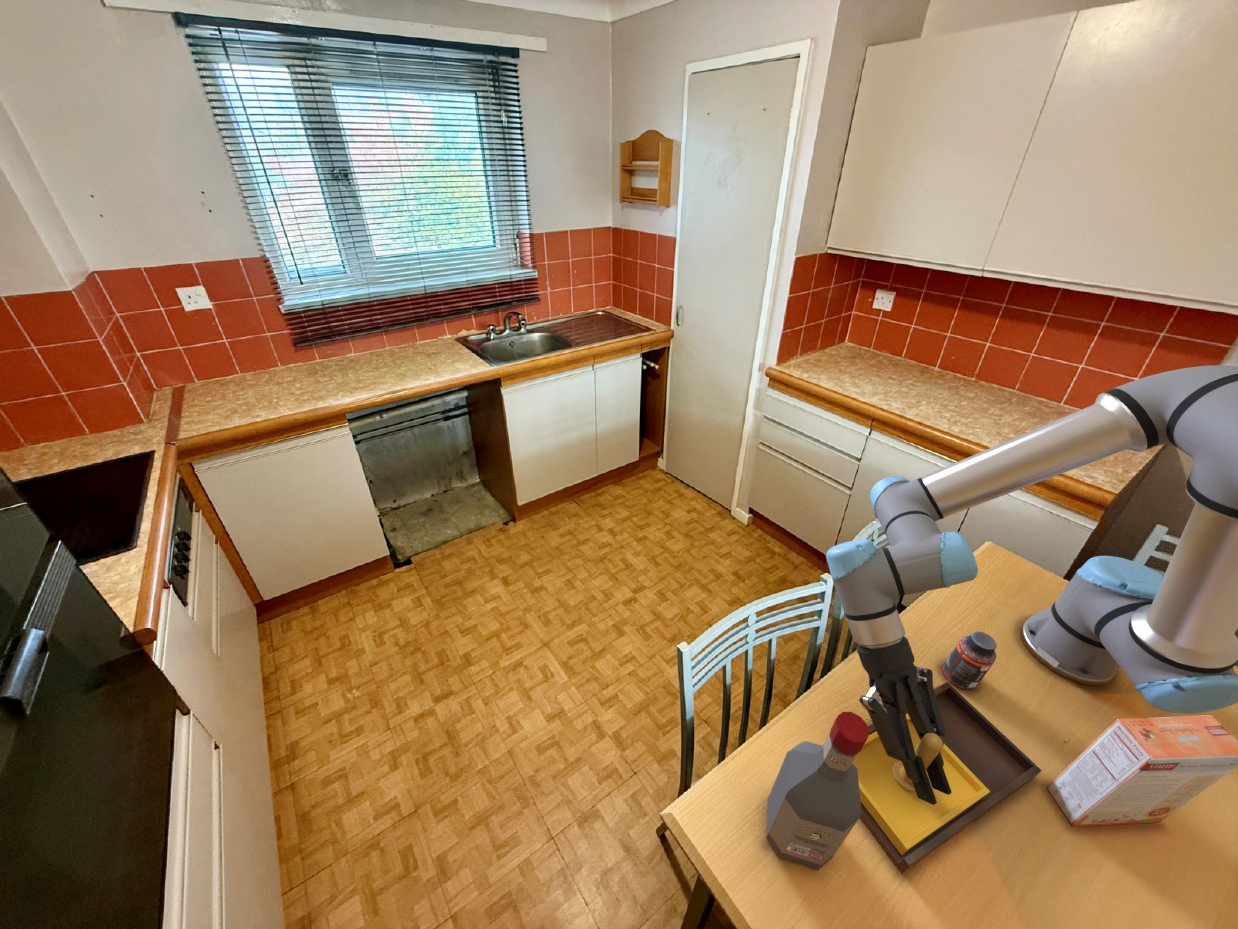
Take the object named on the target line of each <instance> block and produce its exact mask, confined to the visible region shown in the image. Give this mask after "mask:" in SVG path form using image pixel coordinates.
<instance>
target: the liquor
mask: <svg viewBox="0 0 1238 929" xmlns="http://www.w3.org/2000/svg"><path fill="white" fill-rule="evenodd" d="M868 726H869V725H868V724H867V722H866V721H865V719H863V718H862V717H861V716H860V715H859V714H857V713H854V712H853V711H842V712H841V713H839V714H837V716H836V718H835V720H834V721H833V724H832V726H831V728H830V731H829V735H828V737H827V739H826V741H825V742H824V744H823V745H821V744H818V743H814V742H810V741H806V740H804V741H801V742H799V743H798V744H797V745H796V746H794V747H793V748H791V749H790V750H788V751H787V752H786V755H785V756H784V758H783V761H782V763H781V766H780V769H779V771H778V773H777V776H776V778H775V781H774V783H773V784H772V787H771V790H770V792H769V795H768V797H767V801H766V802H767V803H766V804H767V805H766V831H765V838H766V840H767V841H768V843H769V845H770V846H771V848H772V849H773V851H774V852H775V853H776V855H777V857H778V858H779V859H782V860H785V861H788V862H792V863H795V864H797V865H801V866H804V867H807V868H810V869H813V870H816V871H819V870H820V869H821V868H823V867H824V866H825V865H826V864H827V863H828V862H830V861H831V860H832V859H833V858H834V856H835V855H836V853H837V852H838V850H839V848H840V847H841V846H842V845H843V843H844V842H845V840H846V838H847V837H848V835H849V834H850V833H851V831H852V829H854V827H855V825H856V824H857V823H858V821H859V819H861V818H860V816H861V815H862V812H861V801H860V792H859V782H858V772H857V768H856V766H855V765H854V764H853V763H852V762H853V760H854V759H855V757H856V755H857V754H858V753H859V752H860V751H861V750H862V748H863V746H864V744H865V742H866V741H867V739H868V735H869V729H868Z"/></svg>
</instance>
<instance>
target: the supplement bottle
mask: <svg viewBox="0 0 1238 929" xmlns="http://www.w3.org/2000/svg"><path fill="white" fill-rule="evenodd" d="M997 644H998V643H997V642H996V640H995V638H994V637H993V636H991V635H990V634H988V633H986V632H983V631H979V630H975V631H972V633H971V634H970V635H965V636H962V637H961V638H960V639H959V641H958V642H957V643H956V645H955V646H954V648H953V650H952V651H951V653H950V654H949V656H948V657H947V659H946V660H945V662H944V665H943V667H942V671H943V675H944V676H945V677H946V679H947V680H948V681H949V683H951V684H952V685H954V686H955V687H957V688H960V689H963V690H973V689H975V688H977V686H979V684H980V682H981V681H982V680H983V678H984V677H985V676H986V674H987V673H988V671H989V670H990V669H991V668H992V667H993V665H994V663H995V662H996V661H997V660H996V659H997V653H996V649H997Z"/></svg>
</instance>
